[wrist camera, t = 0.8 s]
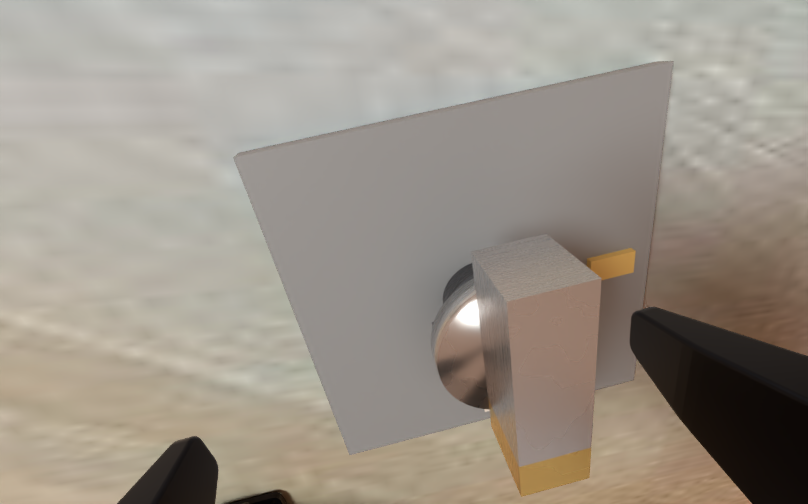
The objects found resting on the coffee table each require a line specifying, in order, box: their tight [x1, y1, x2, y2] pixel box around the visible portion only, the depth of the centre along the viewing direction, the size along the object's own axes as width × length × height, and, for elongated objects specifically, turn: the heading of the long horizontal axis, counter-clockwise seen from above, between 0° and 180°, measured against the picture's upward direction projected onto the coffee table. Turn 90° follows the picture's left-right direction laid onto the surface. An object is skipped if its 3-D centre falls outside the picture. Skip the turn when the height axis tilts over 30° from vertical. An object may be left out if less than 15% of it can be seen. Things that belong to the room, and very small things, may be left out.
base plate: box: [233, 61, 673, 455], centre depth 22 cm, size 20×20×1 cm
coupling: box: [430, 234, 602, 497], centre depth 16 cm, size 10×7×5 cm
